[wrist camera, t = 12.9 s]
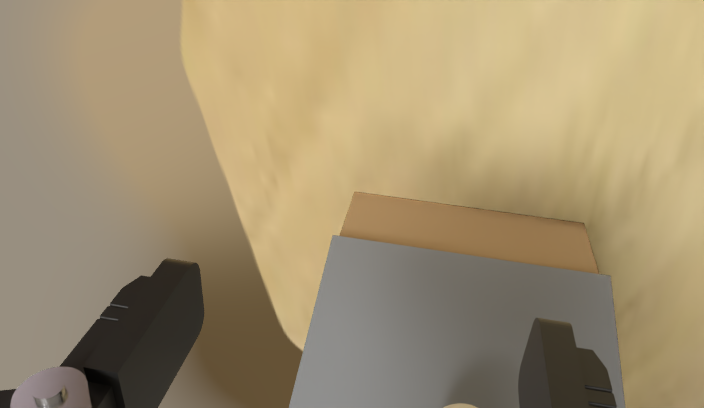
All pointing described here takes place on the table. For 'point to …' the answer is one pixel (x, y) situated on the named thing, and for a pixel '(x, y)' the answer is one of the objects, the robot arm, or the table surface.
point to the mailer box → (470, 231)
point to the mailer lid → (440, 327)
